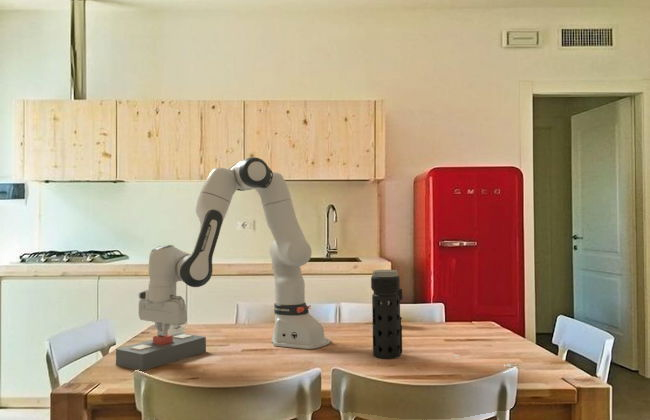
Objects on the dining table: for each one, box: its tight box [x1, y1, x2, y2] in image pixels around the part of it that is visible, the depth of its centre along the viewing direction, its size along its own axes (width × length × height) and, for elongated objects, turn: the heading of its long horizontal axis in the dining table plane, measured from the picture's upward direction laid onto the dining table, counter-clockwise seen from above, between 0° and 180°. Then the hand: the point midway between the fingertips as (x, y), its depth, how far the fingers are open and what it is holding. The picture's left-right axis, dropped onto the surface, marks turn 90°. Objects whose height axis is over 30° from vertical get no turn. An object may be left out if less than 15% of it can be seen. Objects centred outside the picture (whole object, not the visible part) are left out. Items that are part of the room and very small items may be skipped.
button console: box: [115, 333, 207, 372], centre depth 164 cm, size 13×26×5 cm, turn 148°
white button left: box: [131, 344, 152, 351], centre depth 157 cm, size 4×4×5 cm
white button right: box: [173, 333, 193, 340], centre depth 172 cm, size 4×4×5 cm
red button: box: [152, 334, 173, 345], centre depth 164 cm, size 4×4×5 cm
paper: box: [453, 354, 521, 369], centre depth 154 cm, size 25×17×1 cm
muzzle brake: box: [370, 269, 403, 360], centre depth 165 cm, size 10×28×10 cm
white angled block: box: [168, 324, 186, 335], centre depth 196 cm, size 4×10×9 cm
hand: (162, 336), depth 164 cm, fingers closed, pressing on red button
